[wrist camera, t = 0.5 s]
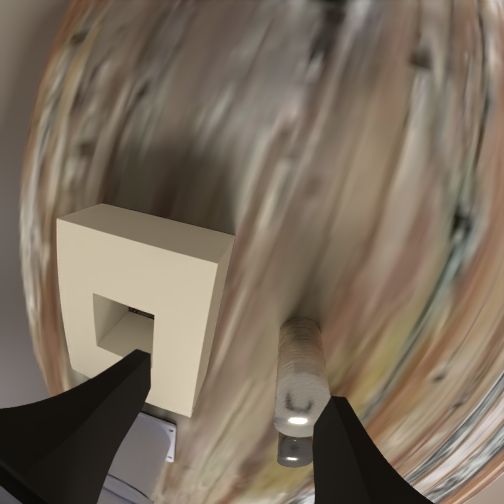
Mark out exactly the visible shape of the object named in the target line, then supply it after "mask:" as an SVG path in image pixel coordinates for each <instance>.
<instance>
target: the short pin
mask: <svg viewBox="0 0 504 504" xmlns="http://www.w3.org/2000/svg"><path fill="white" fill-rule="evenodd" d="M312 443H313V440H312V436H309V437H292V436H288V435H285V434H283V433H281V432H279V442H278V457H277V461H278V463H279V464H280V465H282V466H285V467H302V466H306V465H308V464H310V463H311V462H312V461H313V451H312Z"/></svg>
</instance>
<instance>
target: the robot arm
mask: <svg viewBox="0 0 504 504" xmlns="http://www.w3.org/2000/svg"><path fill="white" fill-rule="evenodd" d="M150 389H151V354H150V353H147V352H145V351H142V350H139V349H135V350H134V351H132V352H131V353H129V354H128V355H127V356H125V357H124V358H122V359H121V360H119V361H118V362H117V363H115V364H114V365H112V366H111V367H109V368H107V369H106V370H104V371H103V372H101V373H100V374H98V375H96V376H95V377H93V378H91V379H89V380H88V381H86V382H84V383H82V384H80V385H78V386H76V387H74V388H72V389H70V390H68V391H66V392H63V393H61V394H59V395H56V396H53V397H51V398H48V399H45V400H42V401H39V402H35V403H31V404H27V405H22V406H18V407H11V408H3V409H0V504H154V501H152V500H150V499H151V496H152V494H153V492H154V489H155V487H156V484H157V482H158V479H159V476H160V474H161V471H162V468H163V466H164V463H165V461H169V462H174V456H175V442H176V430H177V427H176V425H174V424H172V423H169V422H166V421H163V420H160V419H158V418H155V417H152V416H149V415H147V414H144V413H142V412H140V411H141V409H142V408H143V405H144V403H145V401H146V398H147V396H148V394H149V391H150ZM312 451H313V467H314V483H315V503H314V504H435V503H433V502H431V501H430V500H429V499H427V498H426V497H424V496H423V495H422V494H420V493H419V492H418V491H417V490H415V489H414V488H413V487H412V486H411V485H410V484H409V483H407V482H406V481H405V480H404V479H403V478H402V477H401V476H400V475H399V474H398V473H397V472H396V471H395V469H394V468H393V467H392V466H391V465H390V464H389V463H388V461H387V460H386V459H385V458H384V456H383V455H382V454H381V452H380V451H379V450H378V448H377V447H376V446H375V444H374V443H373V441H372V440H371V438H370V437H369V435H368V434H367V432H366V430H365V429H364V427H363V426H362V424H361V422H360V421H359V419H358V417H357V416H356V414H355V412H354V411H353V409H352V407H351V405H350V404H349V402H348V400H347V399H346V397H338V396H331V398H330V400H329V401H328V403H327V405H326V406H325V408H324V410H323V411H322V413H321V414H320V416H319V418H318V419H317V421H316V422H315V424H314V428H313V443H312Z"/></svg>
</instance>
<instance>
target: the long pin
mask: <svg viewBox="0 0 504 504" xmlns="http://www.w3.org/2000/svg"><path fill="white" fill-rule="evenodd" d="M330 398H331V397H330V390H329V383H328V377H327V370H326V364H325V357H324V351H323V345H322V339H321V333H320V329H319V327H318V325H317V324H316V323H315V322H314V321H312V320H310V319H307V318H295V319H291V320H289V321H287V322H286V323H285V324H284V325H283V326H282V327H281V329H280V331H279V343H278V362H277V379H276V394H275V409H274V426H275V428H276V429H277V430H278V431H279V432H281V433H283V434H285V435H288V436H292V437H309V436H313V428H314V424H315V422H316V421H317V419H318V418H319V416H320V414H321V413H322V411H323V410H324V408H325V406H326V405H327V403H328V401H329V400H330Z"/></svg>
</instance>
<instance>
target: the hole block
mask: <svg viewBox="0 0 504 504" xmlns="http://www.w3.org/2000/svg"><path fill="white" fill-rule="evenodd" d="M234 240H235V236H234V235H230V234H226V233H222V232H218V231H214V230H210V229H206V228H202V227H198V226H194V225H190V224H186V223H182V222H178V221H174V220H170V219H166V218H162V217H157V216H153V215H149V214H145V213H141V212H137V211H133V210H128V209H124V208H120V207H116V206H112V205H107V204H103V203H101V204H98V205H95V206H92V207H89V208H86V209H83V210H80V211H77V212H74V213H71V214H68V215H65V216H62V217H60V218H57V262H58V278H59V290H60V299H61V308H62V315H63V322H64V329H65V335H66V340H67V346H68V351H69V356H70V361H71V365H72V369H74V370H76V371H78V372H79V373H81V374H83V375H85V376H87V377H89V378H93V377H95V376H96V375H98V374H100V373H101V372H103V371H104V370H106V369H107V368H109V367H111V366H112V365H114V364H115V363H117V362H118V361H119V360H121V359H122V358H124V357H125V356H127V355H128V354H129V353H131V352H132V351H134V350H135V349H139V350H142V351H145V352H147V353H150V354H151V389H150V391H149V394H148V396H147V398H146V401H145V402H147V403H149V404H152V405H155V406H158V407H160V408H163V409H166V410H169V411H172V412H175V413H178V414H181V415H185V416H188V417H191V415H192V413H193V410H194V407H195V404H196V401H197V399H198V396H199V393H200V390H201V387H202V385H203V382H204V379H205V376H206V373H207V368H208V363H209V358H210V353H211V348H212V343H213V338H214V334H215V329H216V324H217V319H218V314H219V309H220V304H221V300H222V295H223V290H224V286H225V281H226V276H227V272H228V267H229V262H230V258H231V253H232V249H233V244H234ZM129 306H130V307H133V308H136V309H139V310H141V311H144V312H147V313H150V314H153V315H155V317H154V320H153V319H150V318H147V317H145V316H142V315H139V314H136V313H133V312H130V311H129Z"/></svg>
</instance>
